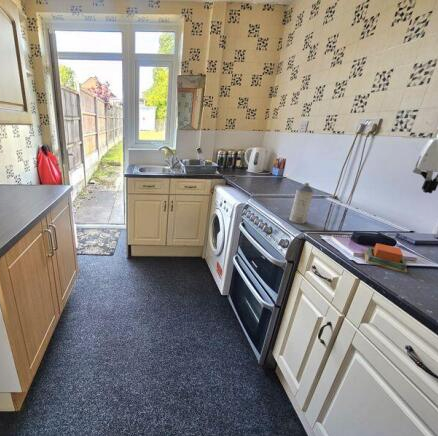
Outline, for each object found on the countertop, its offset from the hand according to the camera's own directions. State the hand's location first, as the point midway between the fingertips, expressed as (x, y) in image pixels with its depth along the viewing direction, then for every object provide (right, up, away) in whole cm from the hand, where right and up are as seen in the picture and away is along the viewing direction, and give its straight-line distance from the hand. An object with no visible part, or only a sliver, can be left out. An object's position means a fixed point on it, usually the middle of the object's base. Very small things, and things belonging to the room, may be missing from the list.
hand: (427, 192), depth 83 cm
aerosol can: (-20, -11, +40) cm, 46 cm away
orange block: (-10, -24, +4) cm, 26 cm away
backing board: (-10, -25, +5) cm, 27 cm away
